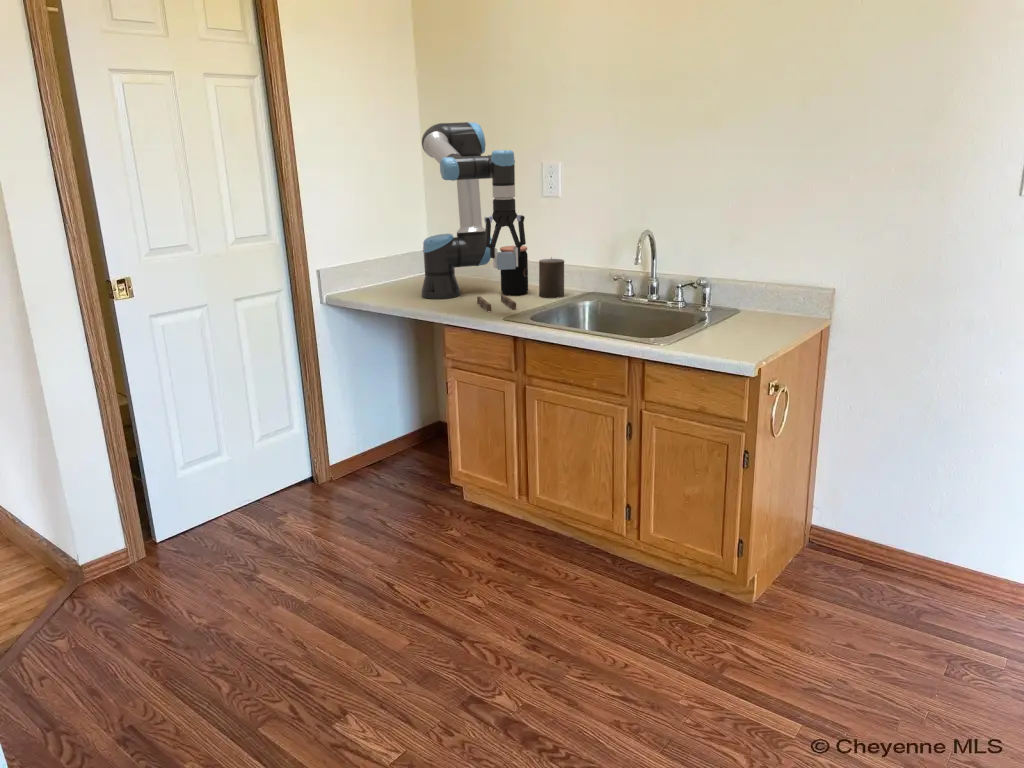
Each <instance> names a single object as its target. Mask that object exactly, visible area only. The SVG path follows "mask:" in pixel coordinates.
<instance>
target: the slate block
mask: <svg viewBox="0 0 1024 768" xmlns="http://www.w3.org/2000/svg"><path fill="white" fill-rule="evenodd" d="M497 264H498V268H496V269H497V270H498V271H499V270H500V271H501V270H505V269H516V266H515V255H514V253H513V252H501V251H499V252H498V251H497Z"/></svg>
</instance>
